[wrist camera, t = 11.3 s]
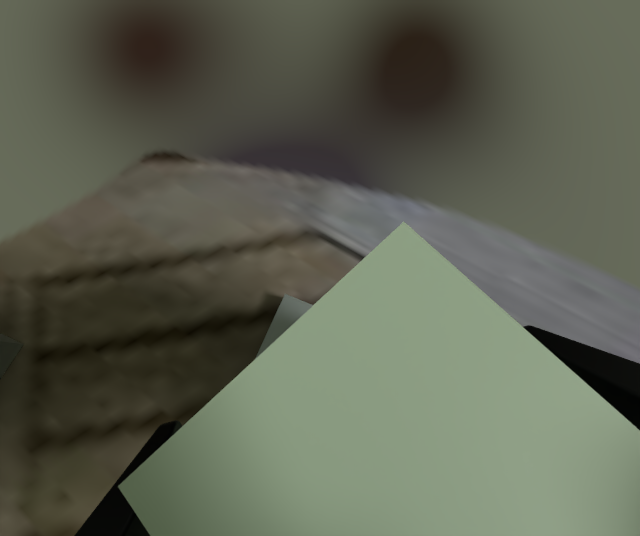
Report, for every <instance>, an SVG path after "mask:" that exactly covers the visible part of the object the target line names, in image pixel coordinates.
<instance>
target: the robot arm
mask: <svg viewBox="0 0 640 536" xmlns="http://www.w3.org/2000/svg"><path fill="white" fill-rule="evenodd" d="M523 328H524V329H526V330H527V331H528V332H529V333H530V334H531V335H532V336H533V337H535V338H536V339H537V340H538V341H539V342H540V343H541V344H543V345H544V346H545V347H546V348H547V349H548V350H549V351H550V352H552V353H553V354H554V355H555V356H556V357H557V358H558V359H559V360H561V361H562V362H563V363H564V364H565V365H566V366H567V367H568V368H570V369H571V370H572V371H573V372H574V373H575V374H576V375H578V376H579V377H580V378H581V379H582V380H583V381H584V382H585V383H587V384H588V385H589V386H590V387H591V388H592V389H593V390H594V391H596V392H597V393H598V394H599V395H600V396H601V397H602V398H604V399H605V400H606V401H607V402H608V403H609V404H610V405H611V406H613V407H614V408H615V409H616V410H617V411H618V412H619V413H620V414H622V415H623V416H624V417H625V418H626V419H627V420H628V421H630V422H631V423H632V424H633V425H634V426H635V427H636V428H637V429H639V430H640V364H639V363H636V362H633V361H630V360H628V359H625V358H622V357H619V356H616V355H613V354H610V353H608V352H605V351H602V350H599V349H596V348H593V347H591V346H588V345H585V344H582V343H579V342H576V341H573V340H571V339H568V338H565V337H562V336H559V335H556V334H553V333H551V332H548V331H545V330H542V329H539V328H536V327H534V326H524V327H523ZM181 427H182V425H181V423H180V422H179V421H176V420H175V421H171V422H168V423H164V424H162V425H160V426H159V427H158V428H157V430H156V431H155V432H154V434H153V435H152V436H151V438H150V439H149V440H148V441H147V443H146V444H145V445H144V447H143V448H142V449H141V450H140V452H139V453H138V454H137V456H136V457H135V458H134V459H133V461H132V462H131V463H130V465H129V466H128V467H127V469H126V470H125V471H124V472H123V474H122V475H121V476H120V478H119V479H118V480H117V481H116V483H115V484H114V485H113V487H112V488H111V489H110V490H109V492H108V493H107V494H106V496H105V497H104V498H103V500H102V501H101V502H100V503H99V505H98V506H97V507H96V509H95V510H94V511H93V512H92V514H91V515H90V516H89V518H88V519H87V520H86V521H85V523H84V524H83V525H82V527H81V528H80V529H79V530H78V532H77V533H76V534H75V536H150V534H149V533H148V531H147V530H146V528H145V527H144V525H143V524H142V522H141V521H140V519H139V518H138V516H137V515H136V513H135V512H134V510H133V509H132V507H131V506H130V504H129V503H128V501H127V500H126V498H125V496H124V495H123V493H122V492H121V490H120V489H119V487H118V486H119V485H120V484H121V483H122V482H123V481H124V480H125V479H126V478H127V477H128V476H129V475H131V474H132V473H133V472H134V471H135V470H136V469H137V468H138V467H139V466H140V465H141V464H142V463H144V462H145V461H146V460H147V459H148V458H149V457H150V456H151V455H152V454H153V453H154V452H155V451H157V450H158V449H159V448H160V447H161V446H162V445H163V444H164V443H165V442H166V441H167V440H168V439H169V438H171V437H172V436H173V435H174V434H175V433H176V432H177V431H178V430H179V429H180V428H181Z"/></svg>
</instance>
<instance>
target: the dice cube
mask: <svg viewBox="0 0 640 536" xmlns="http://www.w3.org/2000/svg"><path fill="white" fill-rule="evenodd" d="M23 345H24V344H22V343H20V342H18V341H16V340H14V339H12V338H10V337H8V336H6V335H3V334H1V333H0V379H1V377H2V376H3V374H4V373H5V371H6V370H7V368H8V367H9V366H10V364H11V363H12V361H13V360H14V358H15V357H16V355H17V354H18V352H19V351H20V349H21V348H22V346H23Z"/></svg>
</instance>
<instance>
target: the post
mask: <svg viewBox="0 0 640 536" xmlns="http://www.w3.org/2000/svg"><path fill="white" fill-rule="evenodd" d="M118 487H119V489H120V490H121V492H122V493H123V495H124V496H125V498H126V500H127V501H128V503H129V504H130V506H131V507H132V509H133V510H134V512H135V513H136V515H137V516H138V518H139V519H140V521H141V522H142V524H143V525H144V527H145V528H146V530H147V531H148V533H149V534H150V536H640V430H639V429H637V428H636V427H635V426H634V425H633V424H632V423H631V422H630V421H628V420H627V419H626V418H625V417H624V416H623V415H622V414H620V413H619V412H618V411H617V410H616V409H615V408H614V407H613V406H611V405H610V404H609V403H608V402H607V401H606V400H605V399H604V398H602V397H601V396H600V395H599V394H598V393H597V392H596V391H594V390H593V389H592V388H591V387H590V386H589V385H588V384H587V383H585V382H584V381H583V380H582V379H581V378H580V377H579V376H578V375H576V374H575V373H574V372H573V371H572V370H571V369H570V368H568V367H567V366H566V365H565V364H564V363H563V362H562V361H561V360H559V359H558V358H557V357H556V356H555V355H554V354H553V353H552V352H550V351H549V350H548V349H547V348H546V347H545V346H544V345H543V344H541V343H540V342H539V341H538V340H537V339H536V338H535V337H533V336H532V335H531V334H530V333H529V332H528V331H527V330H526V329H524V328H523V327H522V326H521V325H520V324H519V323H518V322H517V321H515V320H514V319H513V318H512V317H511V316H510V315H509V314H507V313H506V312H505V311H504V310H503V309H502V308H501V307H500V306H498V305H497V304H496V303H495V302H494V301H493V300H492V299H491V298H489V297H488V296H487V295H486V294H485V293H484V292H483V291H481V290H480V289H479V288H478V287H477V286H476V285H475V284H474V283H472V282H471V281H470V280H469V279H468V278H467V277H466V276H465V275H463V274H462V273H461V272H460V271H459V270H458V269H457V268H455V267H454V266H453V265H452V264H451V263H450V262H449V261H448V260H446V259H445V258H444V257H443V256H442V255H441V254H440V253H439V252H437V251H436V250H435V249H434V248H433V247H432V246H431V245H430V244H428V243H427V242H426V241H425V240H424V239H423V238H422V237H420V236H419V235H418V234H417V233H416V232H415V231H414V230H413V229H411V228H410V227H409V226H408V225H407V224H406V223H405V222H403V223H402V224H401V225H400V226H399V227H398V228H397V229H395V230H394V231H393V232H392V233H391V234H390V235H389V236H388V237H387V238H386V239H385V240H384V241H382V242H381V243H380V244H379V245H378V246H377V247H376V248H375V249H374V250H373V251H372V252H371V253H369V254H368V255H367V256H366V257H365V258H364V259H363V260H362V261H361V262H360V263H359V264H358V265H357V266H355V267H354V268H353V269H352V270H351V271H350V272H349V273H348V274H347V275H346V276H345V277H344V278H342V279H341V280H340V281H339V282H338V283H337V284H336V285H335V286H334V287H333V288H332V289H331V290H329V291H328V292H327V293H326V294H325V295H324V296H323V297H322V298H321V299H320V300H319V301H318V302H317V303H315V304H314V305H313V306H312V307H311V308H310V309H309V310H308V311H307V312H306V313H305V314H304V315H302V316H301V317H300V318H299V319H298V320H297V321H296V322H295V323H294V324H293V325H292V326H291V327H289V328H288V329H287V330H286V331H285V332H284V333H283V334H282V335H281V336H280V337H279V338H278V339H277V340H275V341H274V342H273V343H272V344H271V345H270V346H269V347H268V348H267V349H266V350H265V351H264V352H262V353H261V354H260V355H259V356H258V357H257V358H256V359H255V360H254V361H253V362H252V363H251V364H249V365H248V366H247V367H246V368H245V369H244V370H243V371H242V372H241V373H240V374H239V375H238V376H237V377H235V378H234V379H233V380H232V381H231V382H230V383H229V384H228V385H227V386H226V387H225V388H224V389H222V390H221V391H220V392H219V393H218V394H217V395H216V396H215V397H214V398H213V399H212V400H211V401H209V402H208V403H207V404H206V405H205V406H204V407H203V408H202V409H201V410H200V411H199V412H198V413H197V414H195V415H194V416H193V417H192V418H191V419H190V420H189V421H188V422H187V423H186V424H185V425H184V426H182V427H181V428H180V429H179V430H178V431H177V432H176V433H175V434H174V435H173V436H172V437H171V438H169V439H168V440H167V441H166V442H165V443H164V444H163V445H162V446H161V447H160V448H159V449H158V450H157V451H155V452H154V453H153V454H152V455H151V456H150V457H149V458H148V459H147V460H146V461H145V462H144V463H142V464H141V465H140V466H139V467H138V468H137V469H136V470H135V471H134V472H133V473H132V474H131V475H129V476H128V477H127V478H126V479H125V480H124V481H123V482H122V483H121V484H120V485H119V486H118Z"/></svg>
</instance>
